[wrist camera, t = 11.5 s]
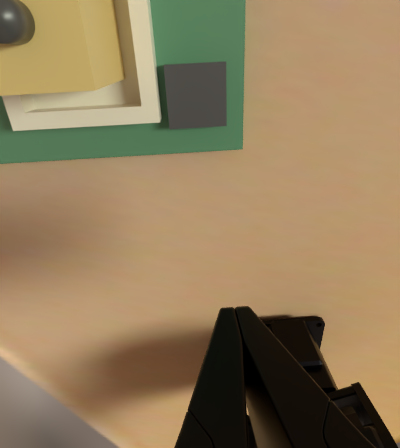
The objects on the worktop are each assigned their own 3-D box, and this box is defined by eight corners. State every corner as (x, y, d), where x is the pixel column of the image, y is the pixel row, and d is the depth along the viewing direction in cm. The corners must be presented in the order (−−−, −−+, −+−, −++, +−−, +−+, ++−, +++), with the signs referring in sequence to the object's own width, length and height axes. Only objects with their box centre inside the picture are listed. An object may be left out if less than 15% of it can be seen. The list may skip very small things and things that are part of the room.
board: (239, 144, 19) (249, 159, 16) (-29, 159, 18) (-67, 178, 16) (243, -143, 13) (259, -198, 10) (-146, -127, 13) (-240, -179, 10)
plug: (125, 78, 15) (85, 94, 9) (45, 83, 15) (-52, 102, 9) (107, -46, 13) (36, -139, 7) (12, -42, 13) (-148, -132, 7)
